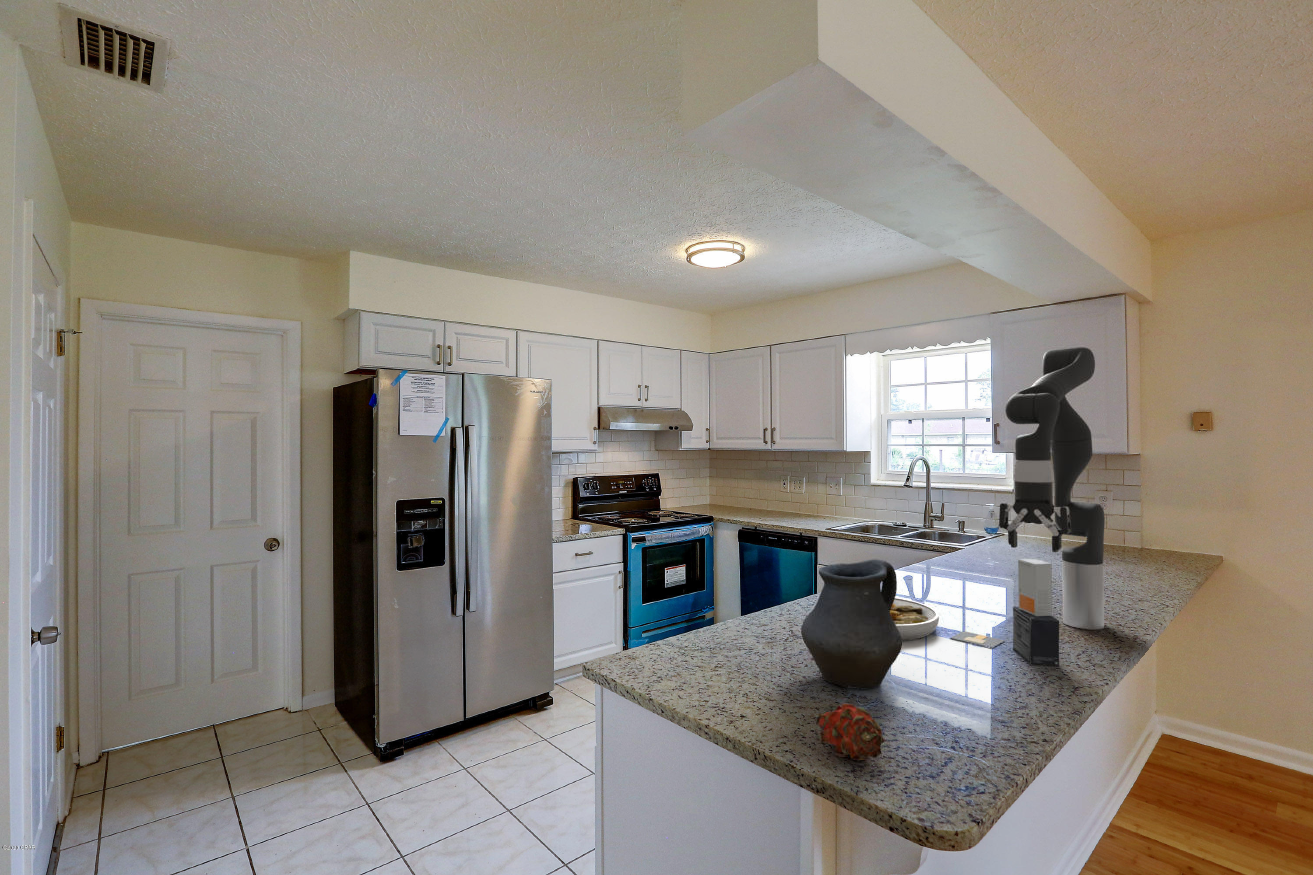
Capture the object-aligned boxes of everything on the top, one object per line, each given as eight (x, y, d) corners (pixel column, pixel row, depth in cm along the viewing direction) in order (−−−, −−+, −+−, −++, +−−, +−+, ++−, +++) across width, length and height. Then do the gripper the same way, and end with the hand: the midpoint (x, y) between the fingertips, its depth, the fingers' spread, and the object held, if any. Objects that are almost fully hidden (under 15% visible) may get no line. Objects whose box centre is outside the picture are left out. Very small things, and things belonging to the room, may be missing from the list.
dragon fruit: (884, 783, 93) (820, 763, 103) (904, 735, 98) (841, 720, 108) (858, 746, 91) (796, 729, 101) (880, 699, 96) (818, 687, 105)
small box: (1062, 667, 136) (1061, 619, 136) (1029, 665, 137) (1029, 618, 137) (1041, 651, 146) (1041, 607, 147) (1011, 649, 148) (1011, 606, 148)
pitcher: (782, 671, 135) (781, 558, 135) (859, 656, 143) (858, 550, 144) (845, 708, 116) (844, 576, 116) (930, 689, 125) (929, 566, 125)
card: (963, 632, 161) (963, 630, 161) (1005, 641, 153) (1005, 639, 153) (950, 638, 156) (950, 637, 156) (992, 648, 148) (992, 647, 148)
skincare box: (1017, 609, 145) (1017, 558, 145) (1034, 608, 145) (1034, 558, 145) (1035, 616, 139) (1035, 563, 139) (1053, 615, 139) (1052, 563, 139)
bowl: (946, 621, 172) (946, 593, 172) (929, 652, 147) (928, 620, 147) (839, 606, 188) (838, 580, 188) (806, 632, 163) (806, 603, 163)
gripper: (1074, 480, 139) (1075, 551, 139) (1006, 477, 150) (1006, 543, 150) (1063, 482, 134) (1064, 555, 134) (994, 479, 145) (994, 547, 145)
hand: (1034, 549), depth 142 cm, fingers open, 8 cm apart
